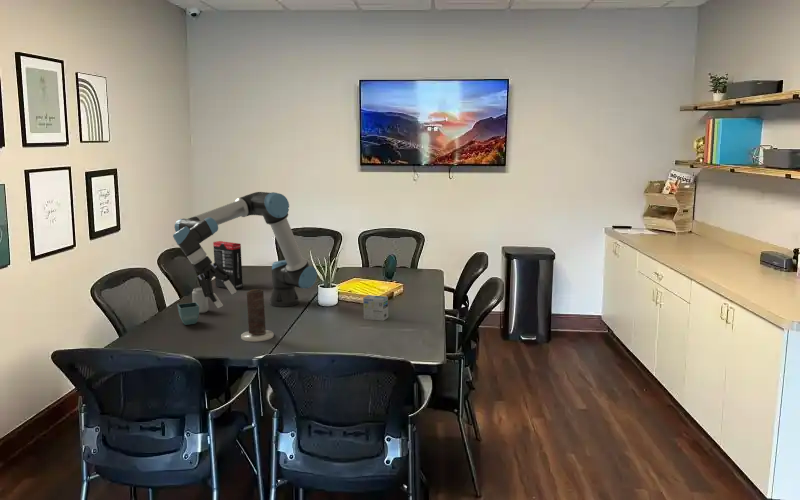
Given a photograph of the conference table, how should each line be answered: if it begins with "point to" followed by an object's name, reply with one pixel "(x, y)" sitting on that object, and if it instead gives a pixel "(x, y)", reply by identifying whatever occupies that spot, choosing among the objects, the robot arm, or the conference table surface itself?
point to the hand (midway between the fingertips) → (227, 299)
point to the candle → (256, 312)
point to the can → (200, 300)
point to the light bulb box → (375, 307)
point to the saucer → (257, 336)
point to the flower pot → (188, 312)
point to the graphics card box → (229, 262)
